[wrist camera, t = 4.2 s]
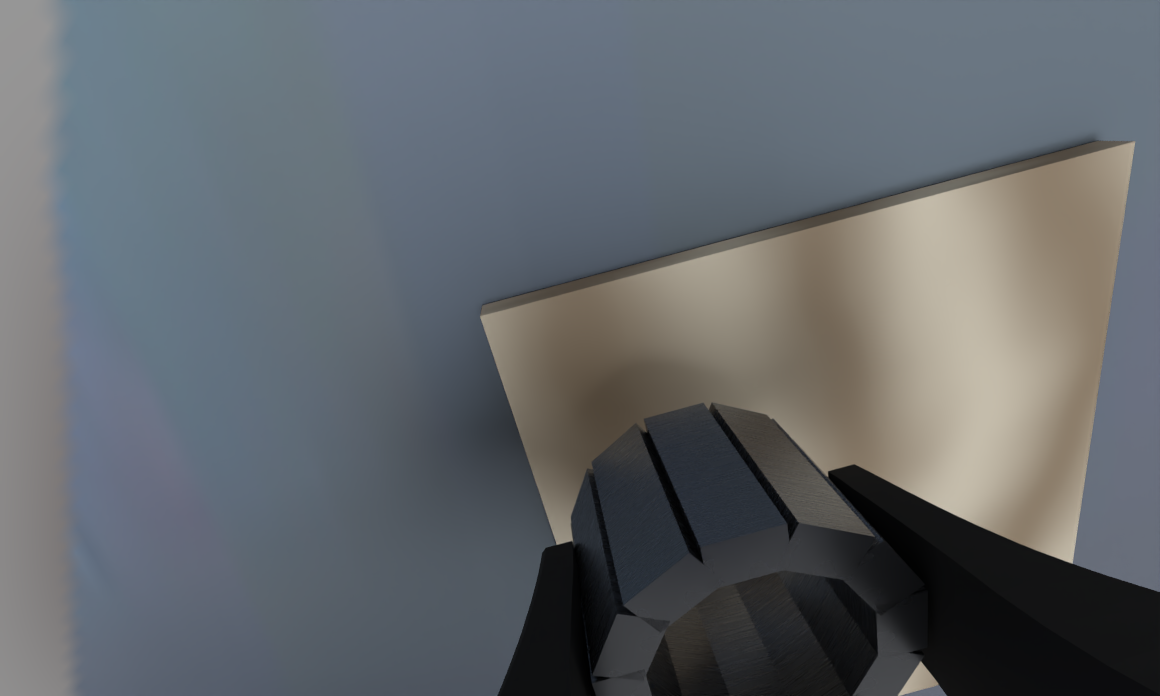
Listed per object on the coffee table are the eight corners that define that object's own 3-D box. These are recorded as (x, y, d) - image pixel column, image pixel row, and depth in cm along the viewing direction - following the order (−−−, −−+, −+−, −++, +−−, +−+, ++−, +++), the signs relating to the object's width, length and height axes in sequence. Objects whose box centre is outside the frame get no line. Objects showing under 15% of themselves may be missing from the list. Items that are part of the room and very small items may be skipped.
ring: (604, 629, 14) (634, 807, 10) (545, 444, 12) (558, 585, 8) (819, 571, 14) (927, 726, 10) (800, 376, 12) (928, 485, 8)
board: (627, 742, 23) (632, 768, 22) (482, 304, 15) (480, 316, 14) (1037, 631, 23) (1059, 652, 22) (1098, 140, 15) (1135, 141, 14)
